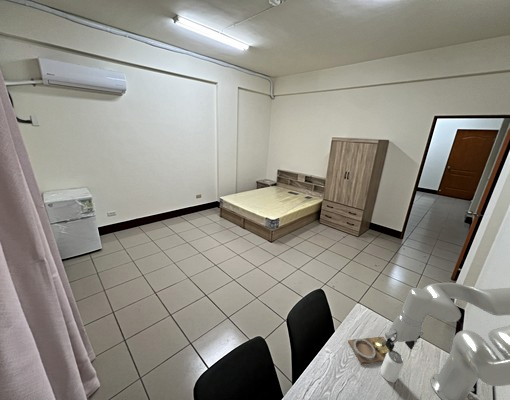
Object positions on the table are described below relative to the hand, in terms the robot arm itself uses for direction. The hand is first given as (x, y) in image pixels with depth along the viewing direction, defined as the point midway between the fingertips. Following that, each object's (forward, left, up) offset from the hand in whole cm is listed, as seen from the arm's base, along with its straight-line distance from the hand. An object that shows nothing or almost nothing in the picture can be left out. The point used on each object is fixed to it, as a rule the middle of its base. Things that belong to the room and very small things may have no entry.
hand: (398, 347), depth 91 cm
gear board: (0, -11, -18) cm, 21 cm away
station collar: (+5, -11, -16) cm, 20 cm away
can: (0, 0, -18) cm, 18 cm away
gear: (-5, -11, -16) cm, 20 cm away
